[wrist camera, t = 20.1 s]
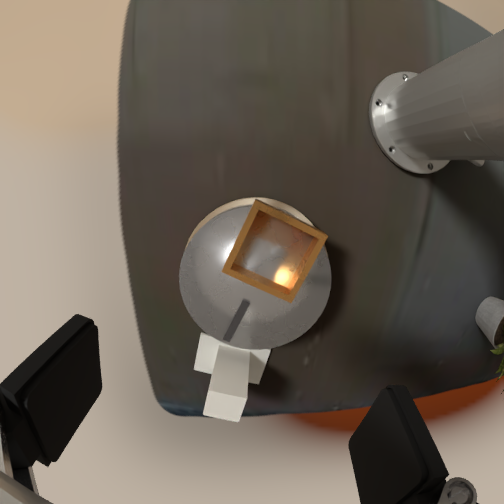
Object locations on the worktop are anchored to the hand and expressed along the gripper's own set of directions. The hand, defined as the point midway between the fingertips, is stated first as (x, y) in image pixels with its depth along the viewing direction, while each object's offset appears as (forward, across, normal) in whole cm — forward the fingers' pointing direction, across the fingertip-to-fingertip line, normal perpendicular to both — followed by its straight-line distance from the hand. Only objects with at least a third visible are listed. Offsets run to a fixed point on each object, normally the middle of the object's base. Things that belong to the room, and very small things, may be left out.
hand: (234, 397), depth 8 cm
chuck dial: (+23, -1, +4) cm, 24 cm away
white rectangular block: (+25, 0, +17) cm, 30 cm away
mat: (+25, 0, +17) cm, 30 cm away
